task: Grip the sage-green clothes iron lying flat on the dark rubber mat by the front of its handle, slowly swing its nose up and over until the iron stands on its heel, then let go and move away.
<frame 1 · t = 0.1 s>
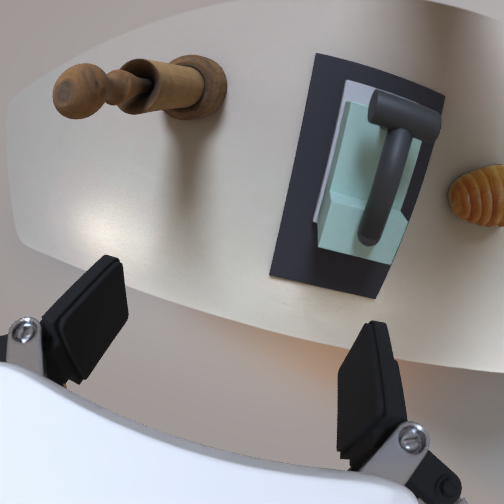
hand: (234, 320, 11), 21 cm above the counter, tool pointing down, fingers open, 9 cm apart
mortar and pestle: (195, 87, 26), on the counter
pastry: (483, 193, 25), on the counter
iron mat: (355, 187, 28), on the counter
iron: (375, 172, 22), point 6 cm above the counter, hinge at 0.0°
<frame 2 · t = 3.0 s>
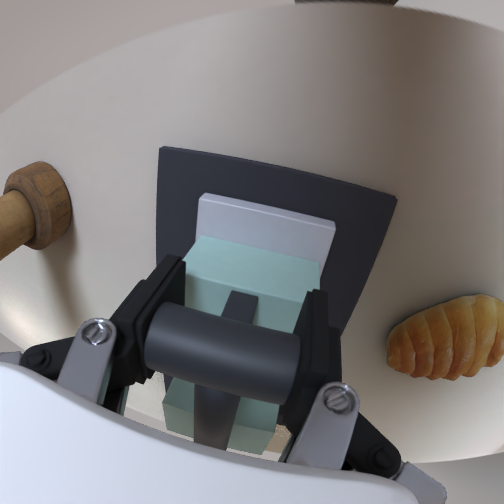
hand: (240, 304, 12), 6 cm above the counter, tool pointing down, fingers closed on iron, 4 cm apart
mortar and pestle: (46, 199, 19), on the counter
pastry: (449, 327, 18), on the counter
iron mat: (244, 331, 21), on the counter
iron: (231, 363, 15), point 6 cm above the counter, hinge at 0.0°, touching gripper
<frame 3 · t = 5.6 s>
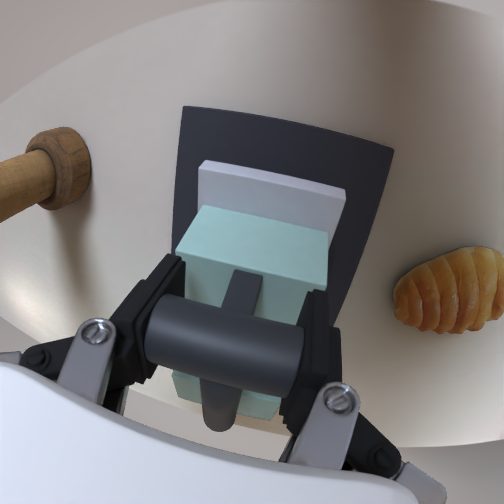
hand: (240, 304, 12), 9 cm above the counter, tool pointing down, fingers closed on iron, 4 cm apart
mortar and pestle: (65, 164, 20), on the counter
pastry: (451, 283, 19), on the counter
iron mat: (255, 287, 22), on the counter
iron: (238, 336, 15), point 7 cm above the counter, hinge at 13.7°, touching gripper
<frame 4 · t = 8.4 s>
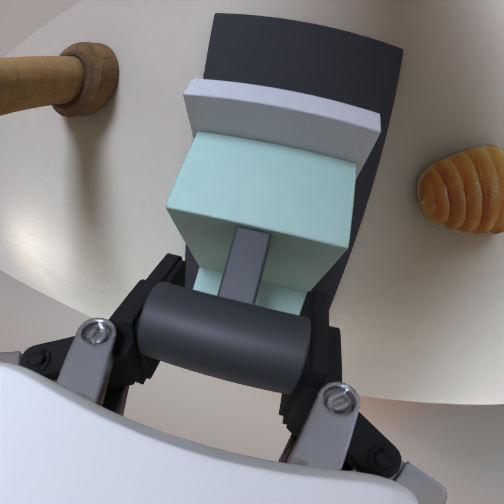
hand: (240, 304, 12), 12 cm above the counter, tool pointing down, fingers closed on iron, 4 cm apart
mortar and pestle: (90, 78, 19), on the counter
pastry: (470, 187, 18), on the counter
iron mat: (279, 183, 21), on the counter
iron: (252, 271, 14), point 9 cm above the counter, hinge at 41.8°, touching gripper
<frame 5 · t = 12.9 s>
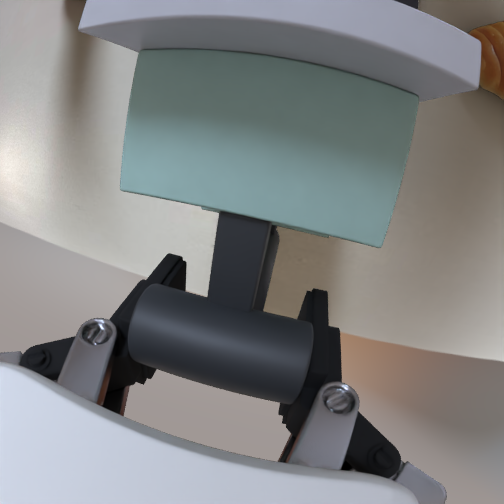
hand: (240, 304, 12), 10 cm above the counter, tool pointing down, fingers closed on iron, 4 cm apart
iron: (267, 186, 11), point 8 cm above the counter, hinge at 82.4°, touching gripper
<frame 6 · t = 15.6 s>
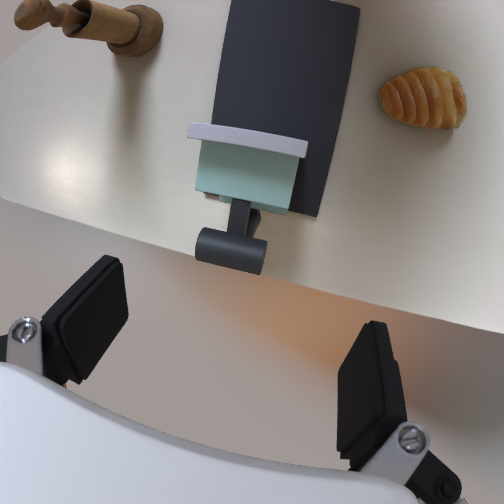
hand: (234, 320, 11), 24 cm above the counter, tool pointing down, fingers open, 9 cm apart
mortar and pestle: (139, 32, 26), on the counter
pastry: (423, 100, 24), on the counter
iron mat: (278, 96, 27), on the counter
iron: (252, 189, 24), point 8 cm above the counter, hinge at 82.7°
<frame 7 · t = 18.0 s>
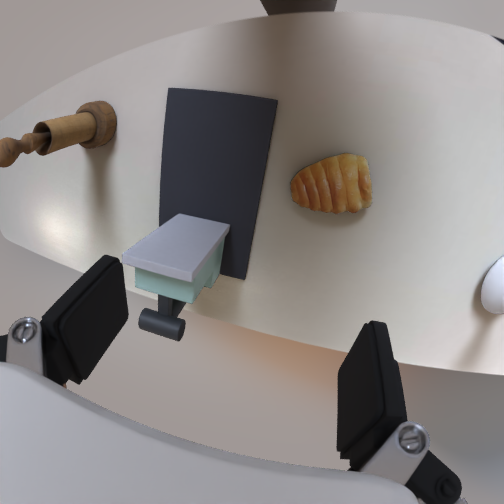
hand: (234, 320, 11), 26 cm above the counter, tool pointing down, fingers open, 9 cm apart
mortar and pestle: (99, 123, 35), on the counter
pastry: (336, 182, 33), on the counter
iron mat: (208, 187, 36), on the counter
iron: (180, 275, 33), point 8 cm above the counter, hinge at 82.7°
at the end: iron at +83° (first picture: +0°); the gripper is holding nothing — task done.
